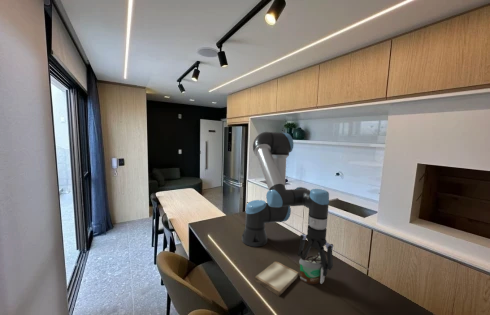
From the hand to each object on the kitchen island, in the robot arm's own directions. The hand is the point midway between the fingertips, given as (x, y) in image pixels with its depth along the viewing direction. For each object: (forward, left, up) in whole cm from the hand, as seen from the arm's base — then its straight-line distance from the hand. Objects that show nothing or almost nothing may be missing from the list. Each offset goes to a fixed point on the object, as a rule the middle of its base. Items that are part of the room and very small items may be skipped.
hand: (313, 277), depth 87 cm
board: (-12, -10, -2) cm, 16 cm away
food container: (0, 0, -2) cm, 2 cm away
